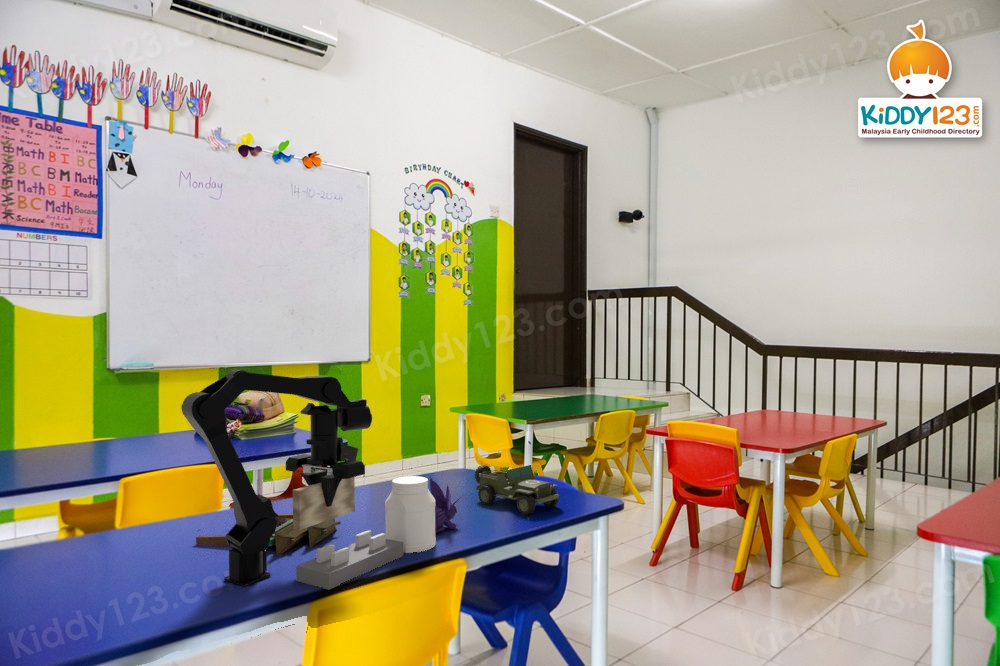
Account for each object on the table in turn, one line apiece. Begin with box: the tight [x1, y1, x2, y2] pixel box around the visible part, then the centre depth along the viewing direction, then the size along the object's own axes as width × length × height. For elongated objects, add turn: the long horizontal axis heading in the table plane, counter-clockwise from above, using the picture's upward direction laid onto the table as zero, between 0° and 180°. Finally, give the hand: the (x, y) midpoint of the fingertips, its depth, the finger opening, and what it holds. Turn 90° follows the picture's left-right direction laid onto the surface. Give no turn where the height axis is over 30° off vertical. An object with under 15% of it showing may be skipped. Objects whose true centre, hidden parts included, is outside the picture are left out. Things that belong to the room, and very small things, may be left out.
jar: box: [384, 475, 437, 554], centre depth 152 cm, size 12×10×15 cm
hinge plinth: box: [295, 529, 404, 591], centre depth 138 cm, size 22×9×6 cm, turn 149°
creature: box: [429, 476, 464, 534], centre depth 164 cm, size 9×18×12 cm, turn 135°
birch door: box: [292, 477, 356, 530], centre depth 143 cm, size 16×2×9 cm, turn 149°
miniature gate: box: [195, 513, 342, 557], centre depth 160 cm, size 27×6×30 cm
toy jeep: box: [474, 464, 560, 516], centre depth 187 cm, size 12×25×11 cm, turn 46°
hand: (325, 505), depth 143 cm, fingers closed on birch door, 2 cm apart
